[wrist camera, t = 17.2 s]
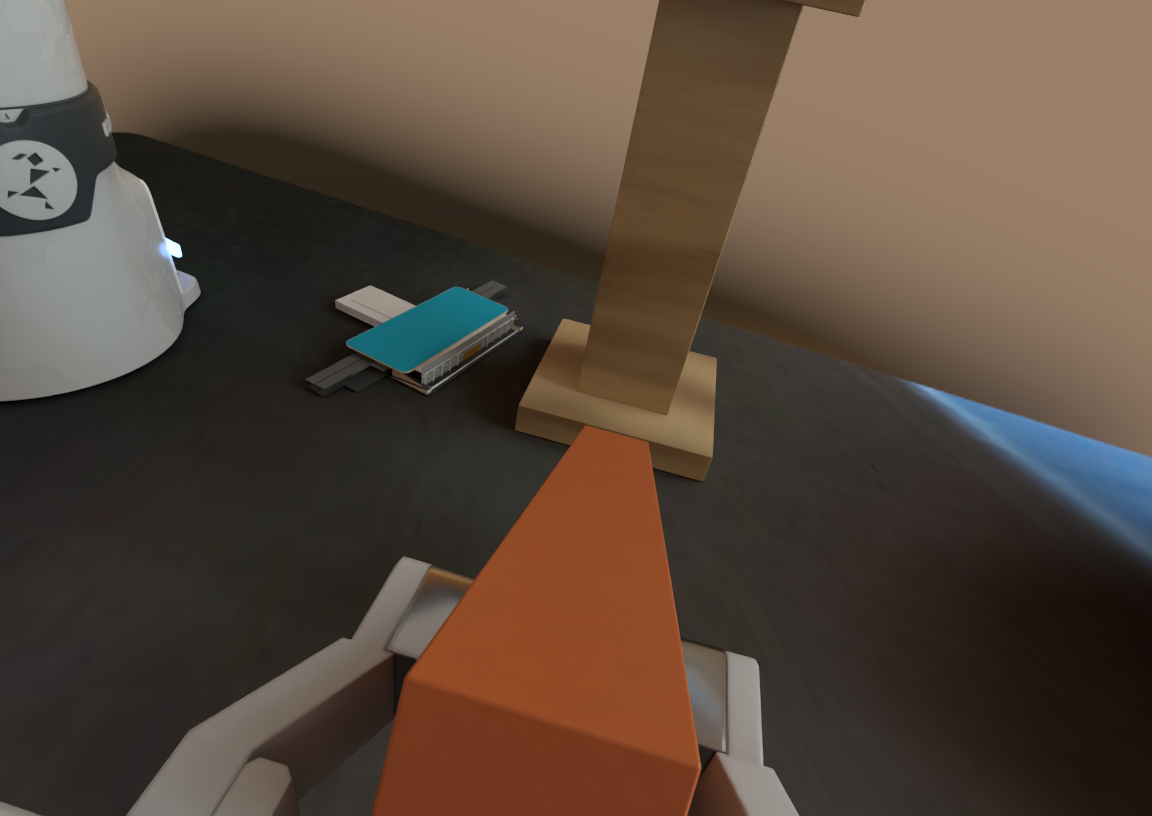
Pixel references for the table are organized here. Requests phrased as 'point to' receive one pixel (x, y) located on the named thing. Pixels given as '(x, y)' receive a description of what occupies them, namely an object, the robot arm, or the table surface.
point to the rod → (556, 663)
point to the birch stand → (670, 234)
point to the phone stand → (419, 338)
